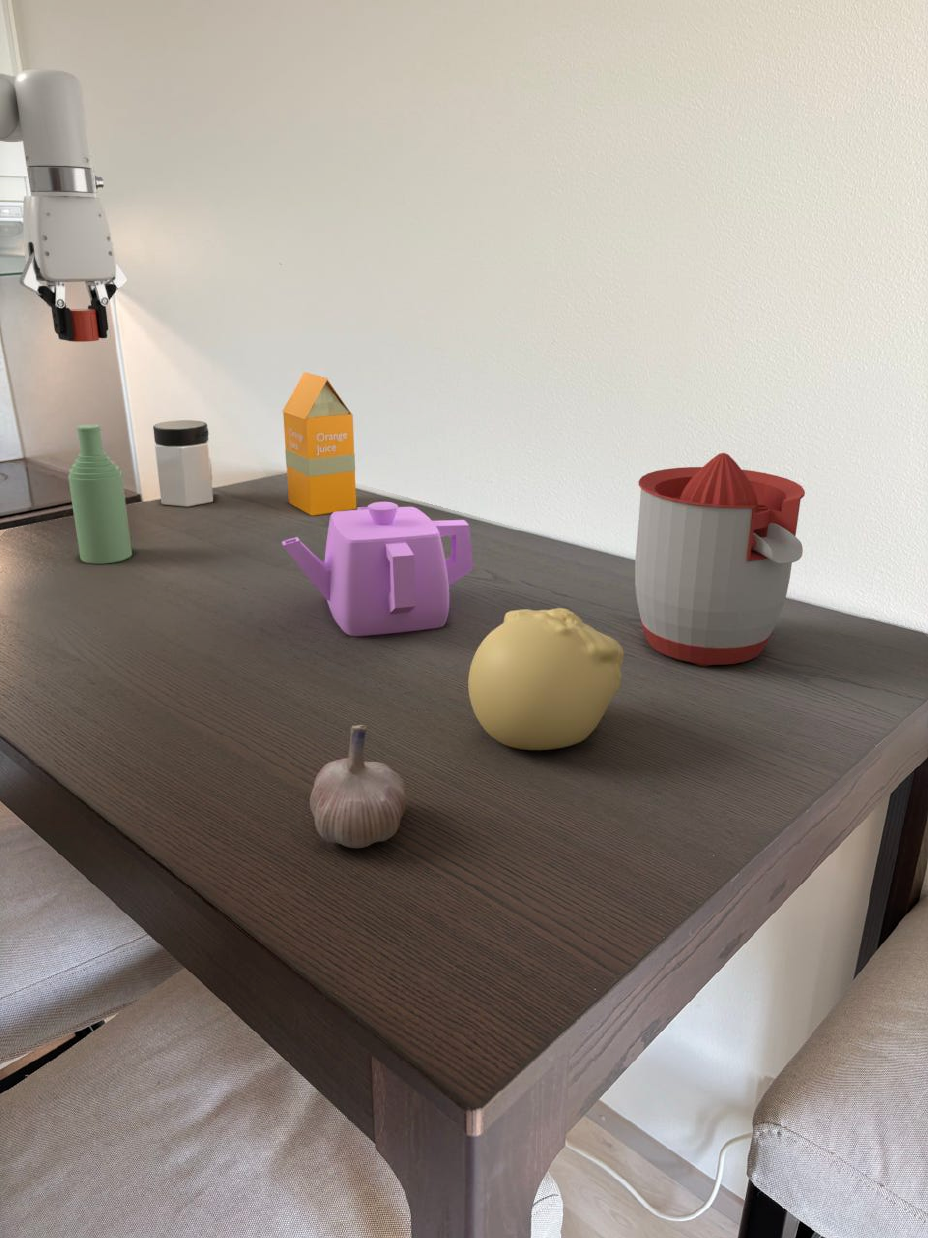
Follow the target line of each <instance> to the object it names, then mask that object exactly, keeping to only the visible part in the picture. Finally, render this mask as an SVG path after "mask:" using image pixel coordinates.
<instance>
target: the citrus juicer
mask: <svg viewBox="0 0 928 1238" xmlns="http://www.w3.org/2000/svg"><path fill="white" fill-rule="evenodd" d="M637 483H638V484H637V485H638V487H639V488H640V495H639V506H638V507H639V508H638V519H637V520H638V521H637V533H636V534H637V535H636V548H635V561H634V566H635V567H634V569H635V570H634V583H635V584H634V585H635V593H636V603H637V607H638V613H639V620H640V624H641V628H642V631H643V634H644V636H645V638H646V639H645V640H646V641H647V642H648V644H649V646H650V647H652V649H653V650H656V651H657V652H659V653H660V654H663V655H665V656H667V657H669V658H673V659H676V660H679V661H684V662H688V663H692V664H694V665H696V666H700V667H709V666H712V665H713V666H717V665H718V666H719V665H721V666H722V665H723V666H724V665H735V664H739V663H740V664H741V663H745V662H747V661H748V662H749V661H751V660H754V659H755V658H757V657H758V656H759V655H760V654H761V652H763V650H764V648H765V647H766V646H767V644H768V642H769V640H770V639H771V637H772V635H773V632H774V629H775V627H776V624H777V622H778V620H779V618H780V616H781V613H782V610H783V607H784V604H785V601H786V598H787V595H788V588H789V585H790V579H791V573H792V565H793V563H795V562H797V561H799V560H801V558H802V556H803V551H804V549H803V544H802V542H801V540H800V539H799V538H798V537H797V536H796V535H797V528H798V521H799V514H800V507H801V501H802V499H803V498H804V497H805V493H806V491H805V488H803V486H802V485H800V483H797V482H796V481H793V480H791V479H790V478H787V477H783V476H779V475H777V474H771V473H767V472H761V471H755V470H751V469H750V470H749V469H742V468H741V467H740V466H739V465H738V463H737V462H736V461H735V460H734V458H732V457H731V456H730V455H729V454H728V453H726V452H721V453H718V454H716V455H715V456H714V457H713V458H711V459H710V460H709V461H708V462H706V463H705V464H704V465H703V466H686V467H685V466H684V467H674V468H672V467H671V468H664V469H659V470H654V471H651V472H647V473H646V474H644V475H642V476H641V477H640V478H639V480H638V481H637Z"/></svg>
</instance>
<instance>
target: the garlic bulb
mask: <svg viewBox="0 0 928 1238" xmlns="http://www.w3.org/2000/svg"><path fill="white" fill-rule="evenodd" d="M366 733H367V726H366V725H365V724H359V725H352V726H351V727H350V737H349V747H348V757H344V758H342V759H338V760H333V761H330V762H327V763H326V764H325V765H324V766H322V768H321V769H320V770H319V771H318V773H317V774H316V776H315V778H314V783H313V788H312V790H311V793H310V799H309V807H310V811H311V813H312V815H313V817H314V825H315V828H316V831H317V833H318V834H319V836H320V837H321V838H322V839H323V840H324V841H326V842H328V843H330V844H340V845H342V846H343V847H346V848H349V849H363V848H368V847H369V846H372V844H375V843H379V842H386V841H388V840H389V839H391V838H392V837H393V836H394V835H395V834H396V833H397V831H398V829H399V827H400V824H401V819H402V818H403V816H404V814H405V812H406V809H407V788H406V783H405V781H404V780H403V778H402V777H401V775H400V774H398V772H396V771H395V770H393V769H392V768H391V767H390V766H388V765H387V764H385V763H383V762H378V761H365V741H366Z"/></svg>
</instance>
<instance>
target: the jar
mask: <svg viewBox="0 0 928 1238" xmlns="http://www.w3.org/2000/svg"><path fill="white" fill-rule="evenodd" d="M152 431H153V439H154V443H155V444H154V450H155V458H156V466H157V468H156V469H157V477H158V485H159V494H160V495H159V496H160V503H161V505H163V506H164V505H165V506H174V507H185V508H188V507H193V506H199V505H204V504H205V505H206V504H209V503H213V501H214V487H213V486H214V485H213V469H212V458H211V455H210V444H209V428H208V424H207V423H206V422H205V421H203V420H191V419H190V420H189V419H187V420H186V419H184V420H167V421H161V422H158V423H155V424H154V425H153V427H152Z"/></svg>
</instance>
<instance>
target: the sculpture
mask: <svg viewBox="0 0 928 1238" xmlns="http://www.w3.org/2000/svg"><path fill="white" fill-rule="evenodd" d="M624 657H625V650H624V648H623V647H622V646H621V644H620V642H618V641H617V640H616V639H614V638H612V637H610V636H608V635H607V634H605V633H602V632H601V631H600V632H599V631H597V630H596V629H594V628H593V627H592V626H590V625H589V624H587V623H585V622H584V621H583V620H582V619H581V617H580V616H578V615H577V614H575V612H573V611H570V610H569V609H567V608H562V607H557V608H551V609H540V610H532V609H525V608H524V609H517V610H509V611H508V612H506V613H505V614H504V618H503V622H502V623H501V624H500V625H498V626H496V627H495V628H494V629H492V630H491V631H490V632H489V633H488V634H487V636H486V637H485V638H484V639H483V640H482V642H481V643H480V644H479V646H478V647H477V649H476V650H475V653H474V655H473V657H472V661H471V663H470V667H469V672H468V680H467V681H468V682H467V687H468V696H469V701H470V704H471V708H472V710H473V713H474V715H475V717H476V719H477V720H478V722H479V724H480V726H481V727H482V729H484V731H485V732H486V733H487V734H488V735H489V736H490V737H492V738H493V739H494V740H496V741H497V742H498V743H501V744H503V745H504V746H506V747H510V748H513V749H518V750H525V751H549V750H557V749H563V748H568V747H571V746H574V745H576V744H579V743H581V742H583V741H584V740H586V739H587V738H588V737H589V736H590V735H591V734H592V733H593V732H594V730H595V729H596V728H597V727H598V725H599V723H600V722H601V720H602V718H603V716H604V715H605V713H606V711H607V709H608V708H609V706H610V703H611V701H612V699H613V698H614V696H615V695H616V694H617V693H618V691H619V690H620V687H621V683H620V682H621V681H622V677H623V675H622V671H621V669H622V666H623V663H624Z"/></svg>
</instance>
